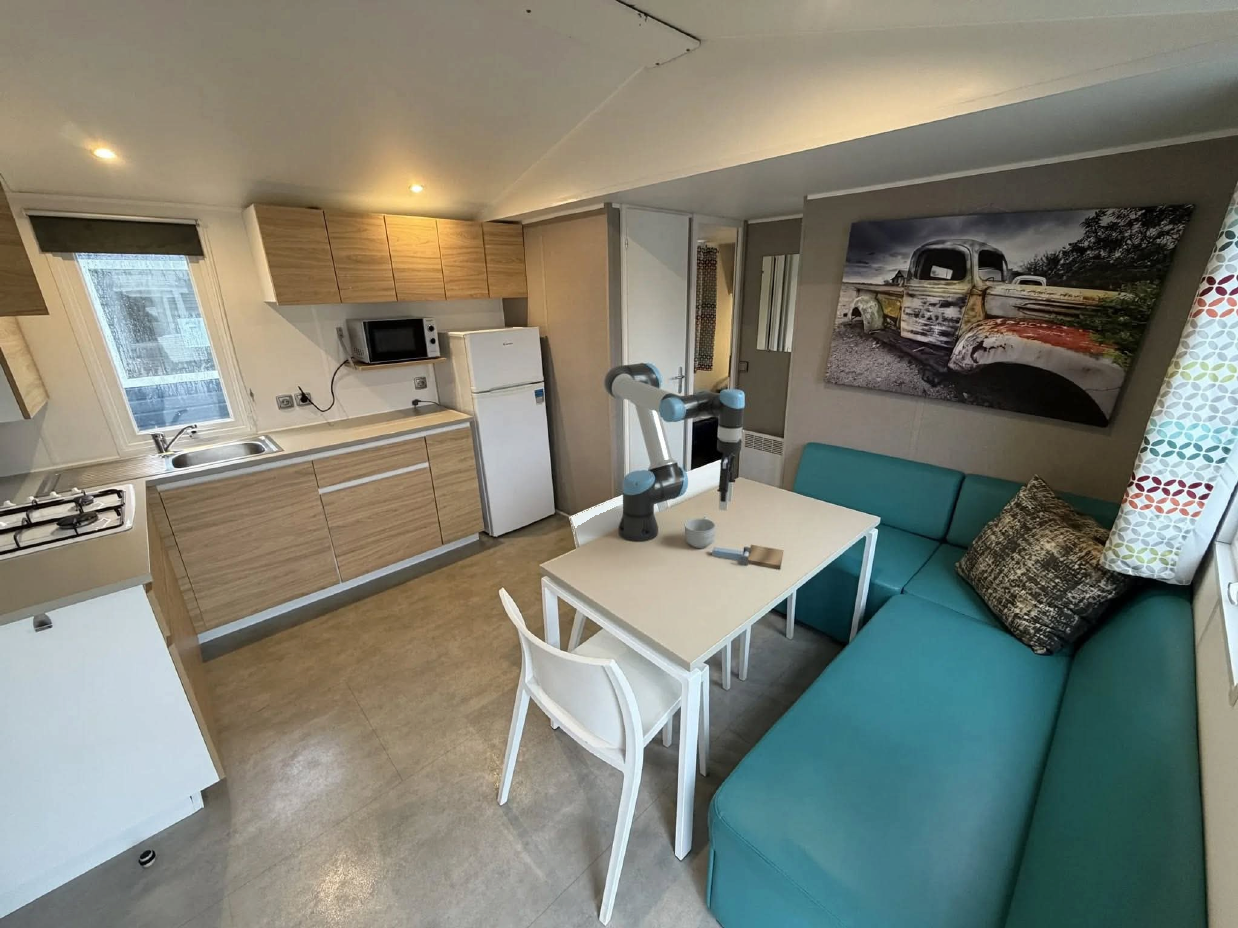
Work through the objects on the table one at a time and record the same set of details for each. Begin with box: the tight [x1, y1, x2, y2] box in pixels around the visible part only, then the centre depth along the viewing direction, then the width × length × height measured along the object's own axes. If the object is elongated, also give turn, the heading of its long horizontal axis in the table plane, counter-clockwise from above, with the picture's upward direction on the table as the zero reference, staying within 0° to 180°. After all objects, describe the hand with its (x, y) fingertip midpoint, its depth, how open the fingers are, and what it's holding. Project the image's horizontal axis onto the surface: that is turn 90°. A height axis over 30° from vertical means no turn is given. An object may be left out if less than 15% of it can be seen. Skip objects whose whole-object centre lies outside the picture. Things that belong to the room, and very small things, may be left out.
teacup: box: [684, 516, 716, 549], centre depth 175 cm, size 14×11×8 cm
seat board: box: [748, 544, 784, 570], centre depth 164 cm, size 11×11×1 cm
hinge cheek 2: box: [739, 555, 749, 567], centre depth 160 cm, size 2×1×3 cm, turn 67°
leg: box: [711, 546, 749, 562], centre depth 165 cm, size 12×5×3 cm, turn 68°
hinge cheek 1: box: [742, 546, 751, 555], centre depth 166 cm, size 2×1×3 cm, turn 67°
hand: (725, 504), depth 160 cm, fingers open, 7 cm apart
